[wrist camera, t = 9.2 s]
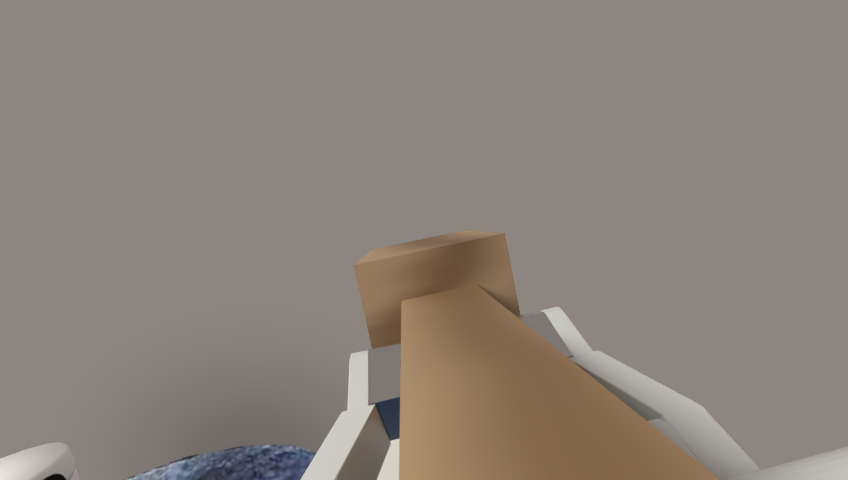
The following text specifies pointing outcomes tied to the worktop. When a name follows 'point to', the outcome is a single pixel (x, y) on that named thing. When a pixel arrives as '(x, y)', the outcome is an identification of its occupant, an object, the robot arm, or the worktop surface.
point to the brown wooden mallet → (495, 376)
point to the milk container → (40, 464)
